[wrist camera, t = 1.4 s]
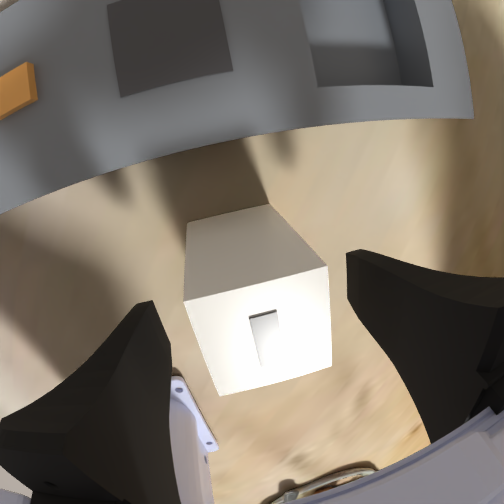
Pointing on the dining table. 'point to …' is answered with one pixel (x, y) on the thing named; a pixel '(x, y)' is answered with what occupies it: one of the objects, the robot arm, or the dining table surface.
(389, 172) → the dining table surface
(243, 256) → the block
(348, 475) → the salad plate
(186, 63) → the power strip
